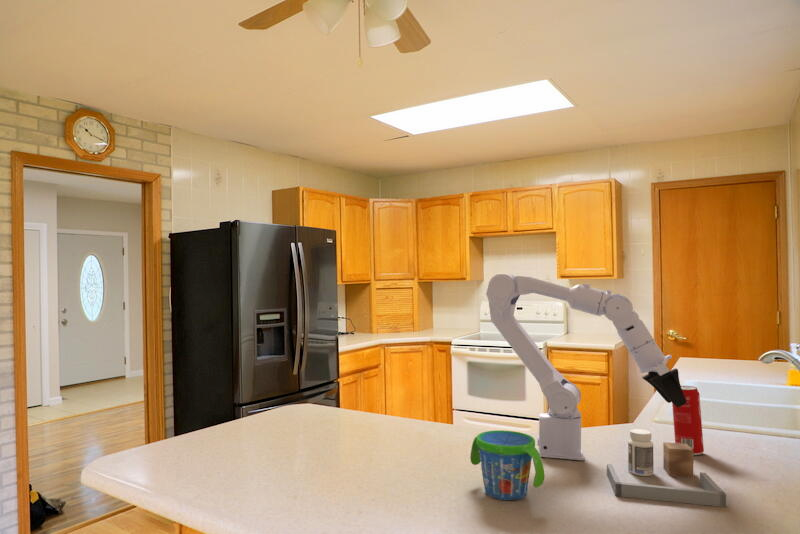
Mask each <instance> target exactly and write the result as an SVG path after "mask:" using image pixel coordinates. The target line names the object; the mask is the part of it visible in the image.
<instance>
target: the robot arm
mask: <svg viewBox="0 0 800 534" xmlns="http://www.w3.org/2000/svg"><path fill="white" fill-rule="evenodd" d="M487 286H488V287H487V290H486V294H485V295H486V297H487V300H488V306H489V307H488V308H489V314H490V320H491V322H492V324H493V325H494V326H495V327H496V329H497V330H498V332H499V333H500V335H501V336H502V337H503V338H504V340H505V341H506V342H507V343H508V345H509V346H510V347H511V349H512V351H514V352H515V354H516V355H517V356H518V358H519V359H520V360H521V362H522V363H523V364H524V366H525V367H526V368H527V370H528V371H529V372H530V373H531V375H532V376H533V377H534V378H535V380H536V382H538V384H539V385H538V386H539V387H540V389H541V392H542V393H543V395H544V397H545V398H546V401H547V407H548V410H547V412H540V413H538V437H537V447H538V452H539V454H540V457H541V458H550V459H563V460H564V459H565V460H575V461H585V456H584V453H583V450H582V412H581V411H580V410H579V409H578V405H579V404H580V402H581V399H582V393H581V390H580V389H579V387H578V386H577V385H576V384H574V383H573V382H570V381H569V380H568V379H567V378H565V375H564V374H562V373H561V372H559V371H558V370H557V369H556V368H555V366H554V365H553V364H552V363H551V362H550V360H549V359H548V358H547V356H546V355H545V354H544V353H543V351H542V350H541V349H540V348H539V346H538V345H537V344H536V342H535V341H534V340H533V339H532V337H531V336H530V335H529V334H528V332H527V331H526V329H524V327H523V326H522V324H520V322H519V321H518V319H516V317H515V309H516V306H517V305H516V303H517V301H518V300H519V298H520V297H521V296H525V295H531V294H535V295H536V294H537V295H540V296H545V297H549V298H552V299H557V300H561V301H566V302H567V303H568V305H569V306H570V308H571V309H572V310H575V311H579V312H583V313H586V314H590V315H595V316H598V317H601V316H603V315H604V316H605V317H606V318H607V319H608V320H609V321H611V322H612V324H613V326H614V327H615V330H616V332H617V334H618V336H619V338H620V340H621V341H622V343H623V344H624V346H625V348H626V349H627V350H628V353H629V354H630V356H631V357H632V359H633V360H634V363H635V364H636V366H637V367H638V371H639V372H640V373H641V374H645V375H643V376H642V377H641V379H643V380H644V381H646V382H647V383H648V384H650V385H651V386H652V387H653V388H654V389H655V390H656V391H657V392H658V394H659V395H660V396H661V397H662V399H664V401H666V403H668V404H672V403H673V404H674V405H675V406H676V407H677V408H678V407H680V406H682V405H684V404H686V403H687V402H686V399H685V396H684V393H683V391H682V388H681V386H682V385H681V383H680V376H679V369H678V368H673V369H671V370H670V369H669V368H668V365H667V363H668V361H669V360H671V359H672V358H673V357H672V354H668V355H665V354H664V353H663V352H662V350H661V349H660V347H659V345H658V344H657V342H656V340H655V339H654V336H652V334H651V332H650V331H649V329H648V327H647V326H646V324H645V323H644V321H643V320H642V319H641V318H640V316H639V314H638V313H637V312H636V311H635V310H634V307H633V303H632V301H630V298H628V297H627V296H624V295H622V294H620V293H614V294H612V292H613V291H612V290H610V289H606V290H602V289H599V288H594V287H590V286H591V284H589V283H587V282H586V283H585V282H584V283H583V284H579V283H578V284H577V285H574V286H572V287H567V286H564V285H560V284H557V283H553V282H550V281H547V280H544V279H540V278H536V277H533V276H526V275H525V276H524V275H514V274H506V273H498V274H495V275H493V276H492V277H491V278H490V280H489V281H488V285H487ZM646 373H647V374H646Z"/></svg>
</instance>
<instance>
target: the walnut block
mask: <svg viewBox="0 0 800 534" xmlns="http://www.w3.org/2000/svg"><path fill="white" fill-rule="evenodd" d="M662 445H663V451H662V453H663V454H662V456H663V457H662V459H663V462H662V464H663V466H662V467H663V471H665V472H666V474H667V475H668V476H669V477H678V478H690V479H694V455H693V450H692V449H691V448H690V447H689V446H688V445H687V444H680V443H675V442H665V441H664V442H663V443H662Z"/></svg>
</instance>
